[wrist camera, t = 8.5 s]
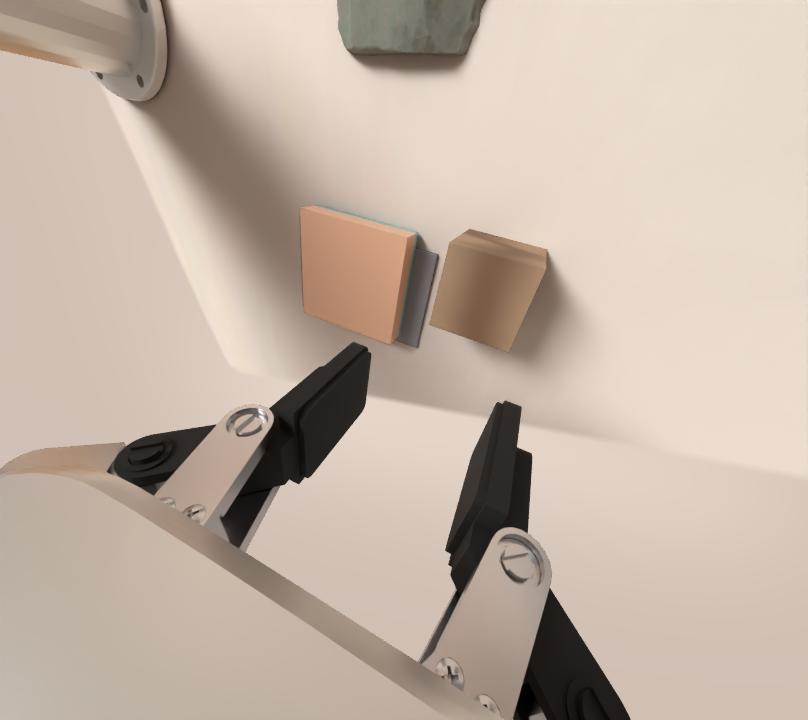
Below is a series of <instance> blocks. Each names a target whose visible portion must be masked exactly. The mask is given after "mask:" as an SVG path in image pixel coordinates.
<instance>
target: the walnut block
mask: <svg viewBox="0 0 808 720" xmlns="http://www.w3.org/2000/svg"><path fill="white" fill-rule="evenodd" d="M546 259H547V249H543V248H540V247H536V246H532V245H528V244H524V243H521V242H517V241H513V240H509V239H505V238H502V237H498V236H494V235H490V234H487V233H483V232H479V231H475V230H471V229H469V230H467V231H466V232H464V233H463V234H461V235H460V236H459V237H457V238H456V239H454V240H453V241H451V242H450V243H449V247H448V251H447V255H446V259H445V263H444V267H443V272H442V276H441V280H440V284H439V288H438V292H437V296H436V300H435V304H434V308H433V312H432V316H431V320H430V324H429V325H431V326H434V327H437V328H440V329H443V330H445V331H448V332H451V333H454V334H457V335H460V336H463V337H465V338H468V339H471V340H474V341H477V342H480V343H483V344H485V345H488V346H491V347H494V348H497V349H500V350H502V351H505V352H509V350H510V348H511V346H512V343H513V341H514V339H515V337H516V335H517V332H518V330H519V328H520V326H521V324H522V321H523V319H524V317H525V315H526V313H527V310H528V308H529V306H530V304H531V302H532V299H533V297H534V295H535V293H536V291H537V288H538V286H539V284H540V282H541V280H542V277H543V275H544V273H545V271H546Z"/></svg>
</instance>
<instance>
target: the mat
mask: <svg viewBox="0 0 808 720" xmlns="http://www.w3.org/2000/svg"><path fill="white" fill-rule="evenodd" d="M300 239H301V225H300ZM437 257H438V254H435V253H432V252H428V251H425V250H421V249H418V248H415V254H414V259H413V265H412V270H411V276H410V281H409V287H408V292H407V298H406V303H405V309H404V314H403V320H402V326H401V331H400V335H399V336H398V337H397V338H396V339H395V340H396V341H399V342H402V343H404V344H407V345H410V346H413V347H415V348H417V345H418V341H419V337H420V332H421V328H422V323H423V319H424V315H425V310H426V306H427V301H428V297H429V293H430V288H431V284H432V279H433V275H434V270H435V266H436V262H437ZM301 265H302V252H301ZM302 291H303V279H302ZM303 306H304V305H303Z"/></svg>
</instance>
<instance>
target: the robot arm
mask: <svg viewBox="0 0 808 720" xmlns="http://www.w3.org/2000/svg"><path fill="white" fill-rule="evenodd" d="M0 50H2V51H6V52H11V53H15V54H19V55H24V56H28V57H33V58H37V59H42V60H46V61H51V62H55V63H59V64H63V65H68V66H72V67H77V68H81V69H86V70H90V72H91V73H92V74H93V75H94V76H95V77H96V79H97V80H98V81H99V82H100V83H101V84H103V85H104V86H105V87H106V88H107V89H108V90H109V91H111V92H113V93H114V94H116V95H117V96H119V97H122V98H125V99H128V100H134V101H146V100H149V99H150V98H152V97H154V96H155V95H156V93H157V92H158V91H159V89H160V87H161V85H162V82H163V79H164V77H165V71H166V65H167V36H166V26H165V21H164V15H163V10H162V5H161V1H160V0H0ZM370 362H371V353H370V352H368V348H367V347H365V346H363V345H360V344H357V343H355V342H353V343H351V344H350V345H349V346H347V347H346V348H345V349H344V350H343V351H342V352H340V353H339V354H338V355H337V356H336V357H334V358H333V359H332V360H331V361H330V362H329V363H327V364H326V365H325V366H322V367H319V368H317V369H316V370H315V371H314V372H312V373H311V374H310V375H309V376H308V377H306V378H305V379H304V380H303V381H302V382H300V383H299V384H298V385H297V386H296V387H294V388H293V389H292V390H291V391H290V392H288V393H287V394H286V395H285V396H284V397H282V398H281V399H280V400H279V401H278V402H276V403H275V404H274V405H273V406H272V407H270V408H269V409H268V408H267V407H264V406H261V405H254V404H253V405H244V406H241V407H238V408H236V409H234V410H232V411H230V412H229V413H228V414H227V415H225V416H224V417H223V419H222V420H221V421H220V422H219V423H218V424H217V425H211V426H204V427H198V428H191V429H185V430H179V431H172V432H166V433H160V434H153V435H149V436H146V437H143V438H140V439H138V440H136V441H134V442H132V443H131V444H129V445H127V446H126V445H125V443H124V442H122V443H109V444H96V445H84V446H71V447H58V448H45V449H40V450H35V451H32V452H29V453H26V454H23V455H20V456H19V457H17V458H15V459H13V460H12V461H10V462H8V463H7V464H6V465H5V466H3V467H2V468H1V469H0V720H512V719H513V720H630V717H629V715H628V713H627V711H626V709H625V707H624V705H623V704H622V702H621V700H620V698H619V697H618V695H617V693H616V692H615V690H614V689H613V687H612V685H611V684H610V682H609V681H608V679H607V678H606V676H605V674H604V673H603V671H602V670H601V668H600V666H599V665H598V663H597V662H596V660H595V659H594V657H593V655H592V654H591V652H590V651H589V649H588V647H587V646H586V644H585V643H584V641H583V640H582V638H581V636H580V635H579V633H578V632H577V630H576V629H575V627H574V625H573V624H572V622H571V621H570V619H569V618H568V616H567V614H566V613H565V611H564V610H563V608H562V606H561V605H560V603H559V602H558V600H557V598H556V597H555V595H554V594H553V592H552V591H551V589H550V584H551V577H552V571H551V566H550V562H549V559H548V557H547V555H546V553H545V551H544V550H543V548H542V547H541V545H540V544H539V543H538V542H537V541H536V540H535V539H534V538H533V537H532V536H531V535H529V534H528V519H529V503H530V487H531V471H532V454H531V453H529V452H527V451H524V450H522V449H519V448H517V441H518V433H519V425H520V417H521V406H518V405H516V404H513V403H511V402H508V401H504V402H503V404H501V403H499V402H497V403H496V405H495V407H494V409H493V411H492V413H491V416H490V418H489V420H488V422H487V424H486V426H485V428H484V430H483V432H482V434H481V437H480V439H479V441H478V443H477V445H476V447H475V449H474V451H473V454H472V457H471V460H470V463H469V466H468V470H467V474H466V477H465V481H464V485H463V488H462V491H461V495H460V499H459V502H458V506H457V509H456V513H455V516H454V520H453V524H452V527H451V531H450V534H449V538H448V542H447V545H446V549H445V551H447V552H449V553H450V554H451V556H450V560H449V564H448V565H449V566H451V567H452V570H451V578H452V580H453V582H454V584H455V587H456V590H455V591H454V593H453V595H452V597H451V599H450V601H449V603H448V605H447V607H446V609H445V610H444V612H443V614H442V616H441V618H440V620H439V622H438V624H437V626H436V628H435V630H434V632H433V634H432V635H431V638H430V639H429V641H428V643H427V645H426V647H425V649H424V651H423V653H422V655H421V657H420V659H419V660H418V662H417V661H415V660H413V659H412V658H410V657H409V656H407V655H406V654H404V653H402V652H401V651H399V650H398V649H396V648H394V647H393V646H392V645H390V644H388V643H387V642H385V641H383V640H382V639H380V638H379V637H378V636H376V635H374V634H373V633H371V632H369V631H368V630H367V629H365V628H363V627H362V626H360V625H359V624H357V623H356V622H354V621H352V620H351V619H349V618H348V617H346V616H345V615H343V614H342V613H340V612H338V611H337V610H335V609H334V608H332V607H331V606H329V605H327V604H326V603H324V602H323V601H321V600H319V599H318V598H316V597H315V596H313V595H311V594H310V593H308V592H307V591H305V590H304V589H302V588H301V587H299V586H297V585H296V584H294V583H293V582H291V581H289V580H288V579H286V578H285V577H283V576H281V575H280V574H278V573H277V572H275V571H274V570H272V569H270V568H269V567H267V566H266V565H264V564H262V563H261V562H259V561H258V560H256V559H255V558H253V557H252V556H250V555H248V554H247V553H245V552H246V550H247V548H248V546H249V543H250V542H251V540H252V538H253V536H254V535H255V533H256V531H257V529H258V527H259V525H260V523H261V521H262V520H263V518H264V516H265V514H266V512H267V510H268V508H269V506H270V505H271V503H272V501H273V499H274V497H275V495H276V493H277V491H278V490H279V488H280V486H281V485H285V484H286V483H287V481H288V480H289V479H290V480H291V481H293V482H295V483H297V484H300V482H301V481H302V480H303V478H304V477H306V478H309V477H310V476H311V475H312V474H313V473H314V472H315V471H316V469H317V468H318V467H319V465H320V464H321V463H322V462H323V460H324V459H325V458H326V457H327V455H328V454H329V453H330V451H331V450H332V449H333V448H334V447H335V445H336V444H337V443H338V442H339V440H340V439H341V438H342V436H343V435H344V434H345V433H346V431H347V430H348V429H349V428H350V426H351V425H352V424H353V423H354V421H355V420H356V419H357V418H358V416H359V415H360V414H361V413H362V411H363V409H364V407H365V403H366V395H367V387H368V379H369V370H370Z"/></svg>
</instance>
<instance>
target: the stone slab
mask: <svg viewBox="0 0 808 720" xmlns="http://www.w3.org/2000/svg"><path fill="white" fill-rule="evenodd" d="M484 2H485V0H337V6H338V15H339V20H338V29H339V32H340V34H341V37H342V40H343V43H344V46H345V48H346V49H347V50H348V51H349V52H351V53H353V54H356V55H380V54H451V55H465V53H466V52H467V50H468V48H469V46H470V42H471V39H472V37H473V35H474V33H475V31H476V30H477V28H478V27H479V22H480V12H481V8H482V6H483V4H484Z"/></svg>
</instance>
